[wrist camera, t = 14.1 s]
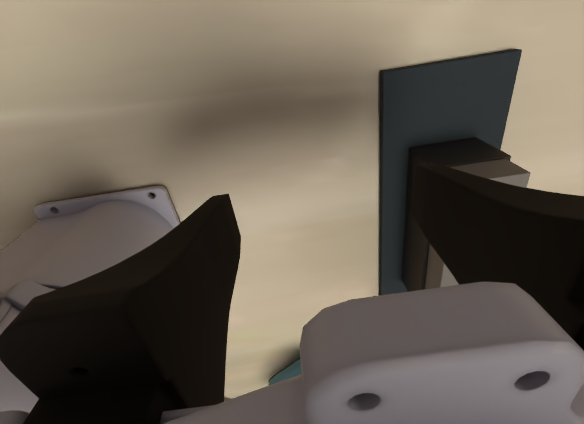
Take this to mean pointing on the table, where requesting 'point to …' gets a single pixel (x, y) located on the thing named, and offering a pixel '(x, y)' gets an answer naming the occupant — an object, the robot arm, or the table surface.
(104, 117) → the table surface
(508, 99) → the desk mat
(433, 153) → the grey rectangular block
